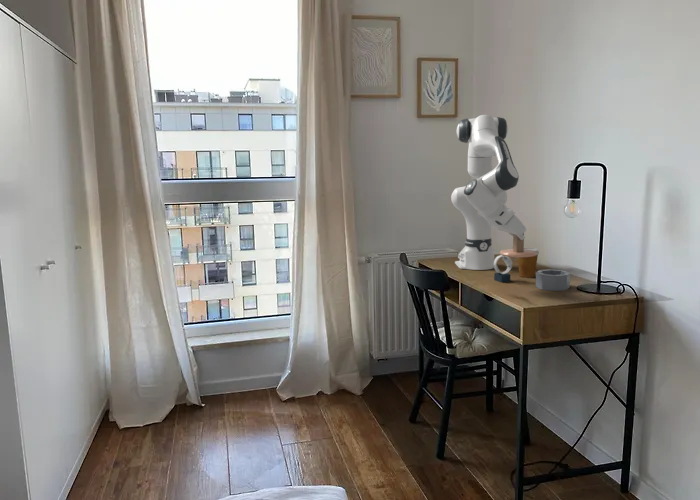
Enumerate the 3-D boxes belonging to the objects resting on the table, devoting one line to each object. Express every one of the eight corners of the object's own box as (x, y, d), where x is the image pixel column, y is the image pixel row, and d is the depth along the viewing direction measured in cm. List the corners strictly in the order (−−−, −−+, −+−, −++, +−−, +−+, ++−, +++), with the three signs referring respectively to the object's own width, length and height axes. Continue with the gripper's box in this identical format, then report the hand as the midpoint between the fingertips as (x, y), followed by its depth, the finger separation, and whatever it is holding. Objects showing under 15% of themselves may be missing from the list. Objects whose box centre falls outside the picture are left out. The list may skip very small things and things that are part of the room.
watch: (514, 281, 241) (514, 255, 239) (497, 283, 238) (498, 257, 237) (506, 278, 246) (507, 253, 244) (490, 280, 244) (490, 255, 242)
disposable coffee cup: (542, 277, 246) (543, 250, 244) (522, 279, 244) (523, 251, 242) (531, 273, 255) (531, 247, 253) (511, 274, 253) (512, 248, 251)
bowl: (531, 284, 233) (531, 270, 232) (558, 282, 235) (558, 268, 234) (546, 291, 221) (547, 276, 220) (574, 289, 223) (575, 274, 222)
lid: (493, 252, 229) (494, 227, 227) (526, 250, 231) (526, 226, 229) (509, 258, 215) (510, 232, 213) (543, 256, 218) (544, 230, 216)
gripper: (480, 217, 229) (502, 240, 232) (503, 223, 209) (527, 247, 212) (491, 206, 229) (513, 228, 232) (514, 210, 209) (538, 235, 212)
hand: (520, 237), depth 222 cm, fingers closed on lid, 3 cm apart
